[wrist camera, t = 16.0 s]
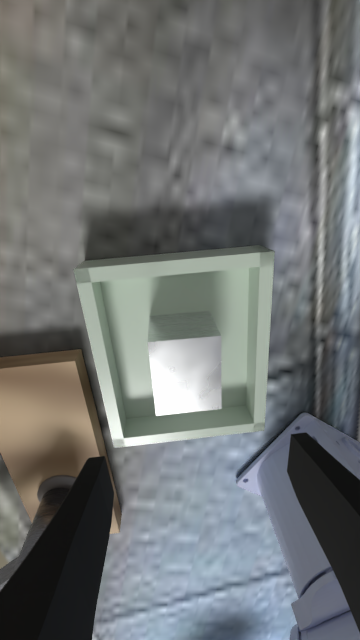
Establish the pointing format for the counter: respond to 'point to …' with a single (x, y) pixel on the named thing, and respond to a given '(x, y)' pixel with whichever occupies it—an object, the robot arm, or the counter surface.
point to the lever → (35, 529)
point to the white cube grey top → (185, 362)
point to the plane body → (48, 424)
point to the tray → (172, 298)
